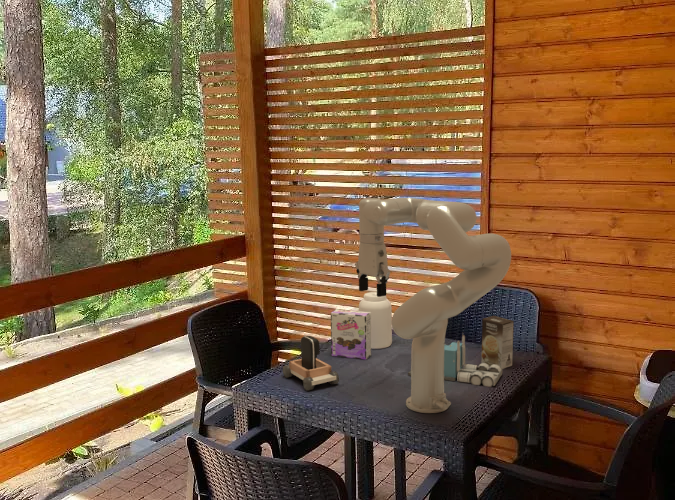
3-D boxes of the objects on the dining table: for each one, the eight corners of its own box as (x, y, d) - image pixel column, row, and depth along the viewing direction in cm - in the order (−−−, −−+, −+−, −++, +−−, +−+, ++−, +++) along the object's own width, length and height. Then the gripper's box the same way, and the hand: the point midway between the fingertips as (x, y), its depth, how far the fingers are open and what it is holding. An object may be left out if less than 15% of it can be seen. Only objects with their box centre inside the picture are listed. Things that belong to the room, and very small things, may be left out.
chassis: (339, 385, 216) (338, 368, 215) (309, 392, 210) (308, 374, 209) (311, 369, 231) (311, 353, 230) (282, 375, 225) (282, 359, 224)
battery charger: (321, 372, 218) (321, 338, 216) (311, 375, 216) (310, 340, 214) (310, 367, 224) (310, 333, 222) (301, 369, 222) (300, 335, 220)
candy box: (330, 356, 245) (329, 312, 242) (336, 351, 250) (336, 308, 248) (366, 360, 240) (365, 315, 237) (371, 355, 245) (371, 311, 243)
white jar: (396, 341, 261) (396, 291, 258) (385, 351, 250) (384, 298, 247) (366, 338, 266) (365, 289, 263) (354, 347, 255) (353, 295, 252)
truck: (418, 365, 234) (418, 324, 232) (502, 376, 222) (503, 332, 220) (407, 376, 223) (407, 333, 221) (494, 388, 211) (495, 342, 209)
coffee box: (480, 363, 234) (481, 318, 232) (492, 359, 238) (493, 315, 236) (501, 369, 227) (502, 323, 225) (513, 365, 231) (514, 320, 228)
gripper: (398, 240, 201) (398, 296, 204) (366, 234, 216) (366, 287, 219) (378, 243, 197) (378, 300, 200) (346, 236, 212) (347, 290, 215)
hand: (372, 293), depth 209 cm, fingers open, 9 cm apart
